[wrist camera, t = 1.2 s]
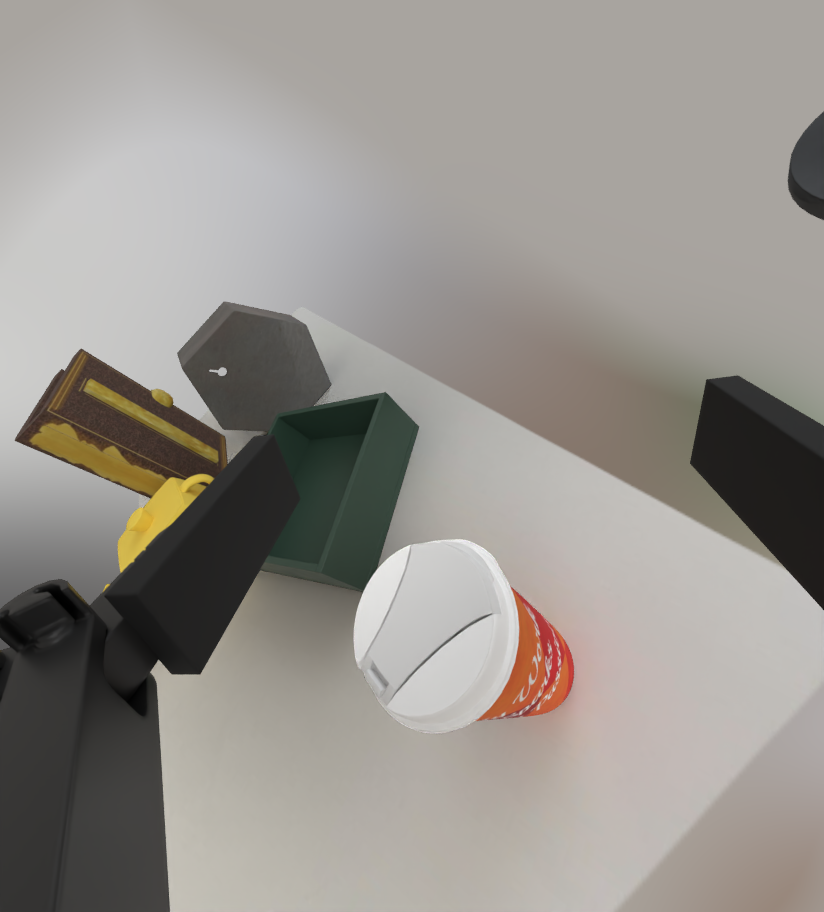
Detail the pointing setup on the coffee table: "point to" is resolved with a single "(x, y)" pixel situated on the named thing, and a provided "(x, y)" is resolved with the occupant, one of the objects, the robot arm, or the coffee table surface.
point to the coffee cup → (456, 641)
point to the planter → (253, 366)
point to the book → (120, 429)
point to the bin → (341, 487)
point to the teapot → (158, 515)
